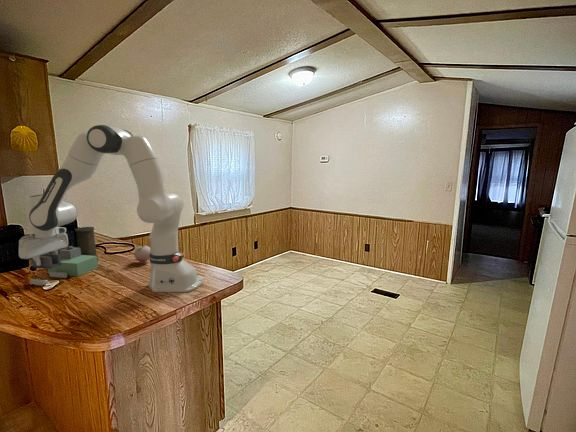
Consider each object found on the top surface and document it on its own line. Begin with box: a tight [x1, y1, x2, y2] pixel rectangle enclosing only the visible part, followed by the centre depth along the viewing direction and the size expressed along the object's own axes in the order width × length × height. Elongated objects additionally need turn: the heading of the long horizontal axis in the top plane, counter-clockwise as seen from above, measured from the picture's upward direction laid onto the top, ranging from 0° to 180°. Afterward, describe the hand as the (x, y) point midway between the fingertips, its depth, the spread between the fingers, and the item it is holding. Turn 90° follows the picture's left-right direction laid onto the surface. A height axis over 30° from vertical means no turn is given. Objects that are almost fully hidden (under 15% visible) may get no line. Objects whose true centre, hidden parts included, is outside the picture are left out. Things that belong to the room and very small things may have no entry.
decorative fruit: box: [133, 243, 151, 263], centre depth 162 cm, size 9×8×10 cm
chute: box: [31, 252, 61, 270], centre depth 136 cm, size 5×9×5 cm, turn 80°
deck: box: [29, 245, 99, 286], centre depth 143 cm, size 16×24×11 cm, turn 170°
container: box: [74, 226, 99, 261], centre depth 162 cm, size 9×9×18 cm
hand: (46, 262), depth 136 cm, fingers closed on chute, 5 cm apart
